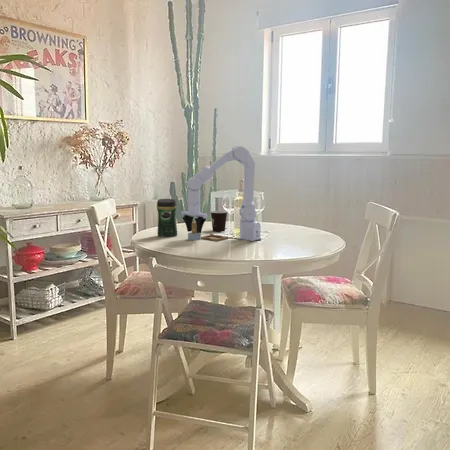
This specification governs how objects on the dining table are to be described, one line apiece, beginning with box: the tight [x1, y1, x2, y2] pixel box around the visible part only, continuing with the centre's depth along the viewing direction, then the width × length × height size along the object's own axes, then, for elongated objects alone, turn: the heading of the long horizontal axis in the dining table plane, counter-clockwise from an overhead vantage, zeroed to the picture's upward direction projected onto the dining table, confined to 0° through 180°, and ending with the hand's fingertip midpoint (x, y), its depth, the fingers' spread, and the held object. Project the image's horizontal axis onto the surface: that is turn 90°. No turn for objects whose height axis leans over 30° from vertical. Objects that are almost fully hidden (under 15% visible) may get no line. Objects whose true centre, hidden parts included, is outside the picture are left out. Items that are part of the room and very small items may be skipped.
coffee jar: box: [156, 198, 178, 238], centre depth 236 cm, size 10×8×19 cm
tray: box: [200, 234, 229, 242], centre depth 229 cm, size 10×8×1 cm
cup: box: [187, 231, 202, 241], centre depth 227 cm, size 4×4×4 cm
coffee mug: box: [210, 210, 228, 233], centre depth 254 cm, size 12×9×10 cm
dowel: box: [191, 221, 197, 234], centre depth 227 cm, size 2×2×8 cm
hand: (194, 232), depth 227 cm, fingers open, 5 cm apart
